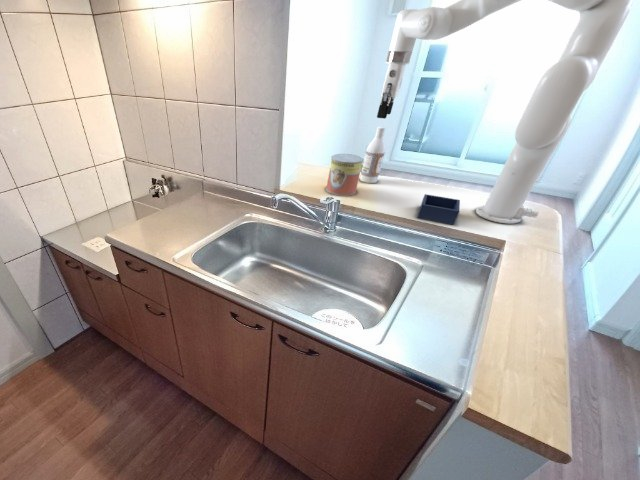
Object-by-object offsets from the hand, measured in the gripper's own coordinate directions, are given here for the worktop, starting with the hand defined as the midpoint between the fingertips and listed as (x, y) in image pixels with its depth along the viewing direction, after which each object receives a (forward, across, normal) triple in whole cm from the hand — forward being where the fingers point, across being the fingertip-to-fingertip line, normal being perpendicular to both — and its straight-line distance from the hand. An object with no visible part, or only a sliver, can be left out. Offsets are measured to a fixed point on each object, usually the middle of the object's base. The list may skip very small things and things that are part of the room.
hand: (383, 115), depth 120 cm
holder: (+23, -25, -28) cm, 44 cm away
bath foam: (+24, 0, -1) cm, 24 cm away
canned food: (+24, -17, +6) cm, 30 cm away
